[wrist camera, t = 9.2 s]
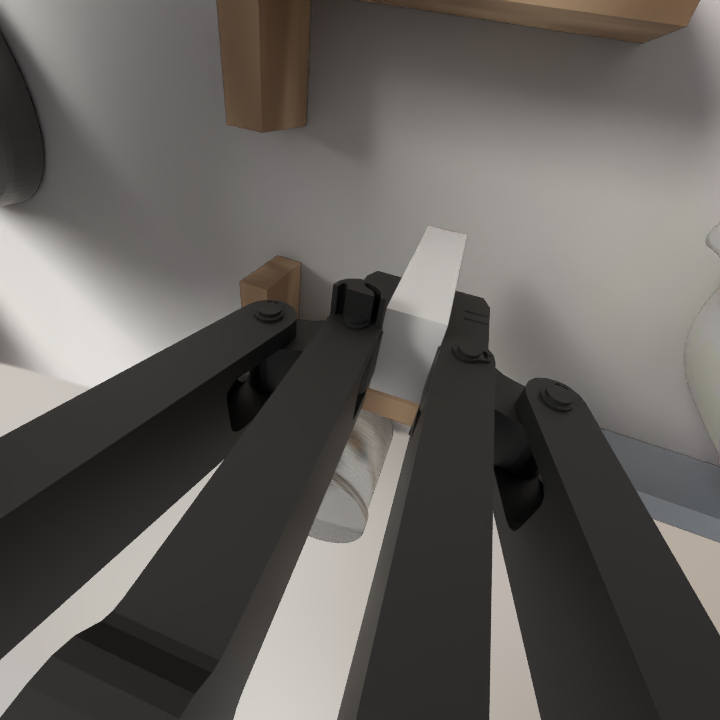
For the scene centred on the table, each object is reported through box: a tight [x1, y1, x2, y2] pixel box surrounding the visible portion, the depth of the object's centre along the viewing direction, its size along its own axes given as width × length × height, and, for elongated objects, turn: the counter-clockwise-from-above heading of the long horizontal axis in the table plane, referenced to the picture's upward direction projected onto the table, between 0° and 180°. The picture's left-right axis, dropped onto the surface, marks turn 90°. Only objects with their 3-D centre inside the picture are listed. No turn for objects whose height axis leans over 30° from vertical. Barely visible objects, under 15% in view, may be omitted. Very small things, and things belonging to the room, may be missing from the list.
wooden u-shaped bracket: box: [217, 0, 700, 426], centre depth 17 cm, size 14×19×4 cm
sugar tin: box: [308, 409, 393, 543], centre depth 26 cm, size 7×7×8 cm
